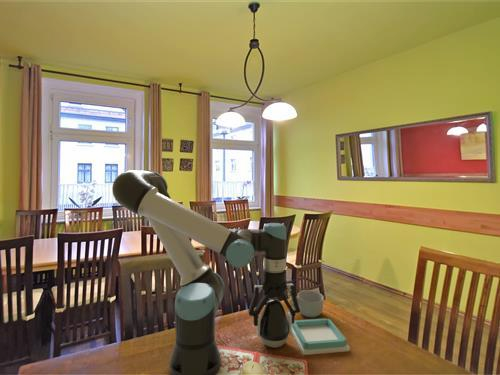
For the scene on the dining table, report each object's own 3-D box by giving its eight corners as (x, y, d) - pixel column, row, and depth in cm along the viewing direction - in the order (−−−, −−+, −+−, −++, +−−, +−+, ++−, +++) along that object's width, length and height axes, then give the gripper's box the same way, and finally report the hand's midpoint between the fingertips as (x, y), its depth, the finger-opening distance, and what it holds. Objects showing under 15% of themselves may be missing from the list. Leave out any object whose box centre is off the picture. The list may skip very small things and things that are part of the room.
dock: (302, 354, 93) (303, 345, 93) (289, 328, 109) (289, 320, 108) (349, 351, 95) (350, 341, 95) (329, 325, 111) (330, 317, 111)
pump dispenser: (267, 332, 106) (267, 291, 106) (293, 341, 100) (294, 297, 100) (252, 345, 97) (253, 300, 97) (280, 355, 92) (280, 308, 91)
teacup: (321, 308, 125) (321, 290, 124) (325, 321, 114) (325, 301, 113) (288, 306, 126) (289, 289, 126) (289, 319, 115) (290, 299, 115)
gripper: (242, 274, 92) (242, 342, 93) (310, 271, 95) (309, 337, 96) (240, 267, 99) (239, 329, 101) (303, 264, 103) (302, 325, 104)
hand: (273, 333), depth 98 cm, fingers closed on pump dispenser, 10 cm apart
